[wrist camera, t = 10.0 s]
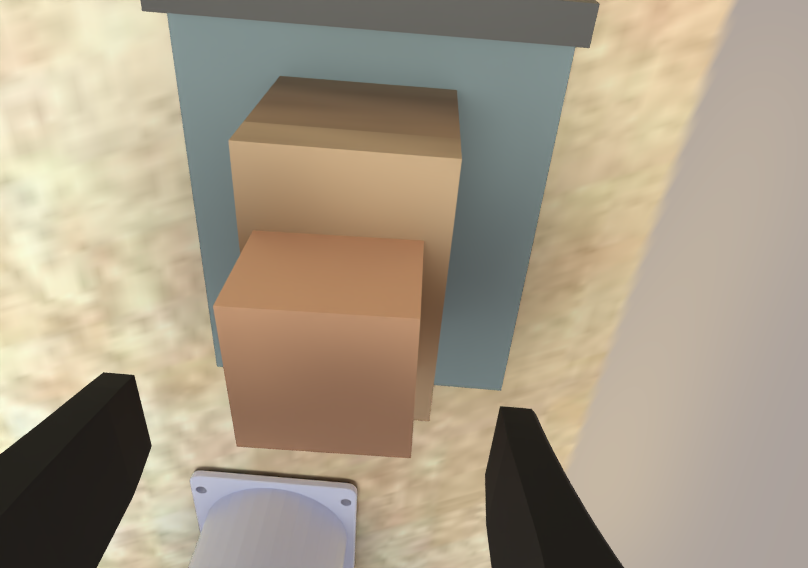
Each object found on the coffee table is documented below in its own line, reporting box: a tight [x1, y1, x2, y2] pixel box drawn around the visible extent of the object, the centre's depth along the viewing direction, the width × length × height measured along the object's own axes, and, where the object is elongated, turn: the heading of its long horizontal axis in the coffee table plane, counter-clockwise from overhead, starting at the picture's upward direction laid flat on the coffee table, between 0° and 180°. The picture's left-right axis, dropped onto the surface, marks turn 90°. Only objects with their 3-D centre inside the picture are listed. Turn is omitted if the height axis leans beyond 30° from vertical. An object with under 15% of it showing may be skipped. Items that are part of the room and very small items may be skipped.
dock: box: [141, 0, 599, 391], centre depth 19 cm, size 14×11×3 cm
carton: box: [213, 230, 424, 458], centre depth 14 cm, size 4×4×3 cm
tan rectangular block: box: [228, 76, 462, 421], centre depth 17 cm, size 8×5×5 cm, turn 176°
